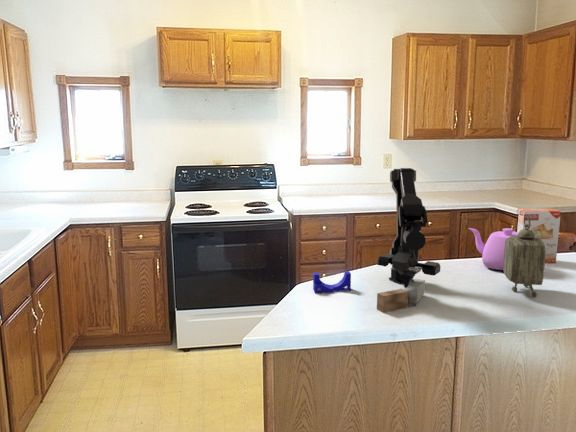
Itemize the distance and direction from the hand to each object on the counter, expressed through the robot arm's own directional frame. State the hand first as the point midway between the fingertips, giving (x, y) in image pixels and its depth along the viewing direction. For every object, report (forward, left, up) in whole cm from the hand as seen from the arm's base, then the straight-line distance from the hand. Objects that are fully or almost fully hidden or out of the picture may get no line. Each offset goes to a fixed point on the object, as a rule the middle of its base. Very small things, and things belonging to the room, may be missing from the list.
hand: (406, 290), depth 163 cm
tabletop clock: (-36, +14, -2) cm, 39 cm away
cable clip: (+17, -16, -3) cm, 24 cm away
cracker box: (-73, -9, -2) cm, 74 cm away
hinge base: (+9, +7, -2) cm, 11 cm away
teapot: (-55, -9, -2) cm, 56 cm away
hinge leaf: (0, +4, -2) cm, 4 cm away
